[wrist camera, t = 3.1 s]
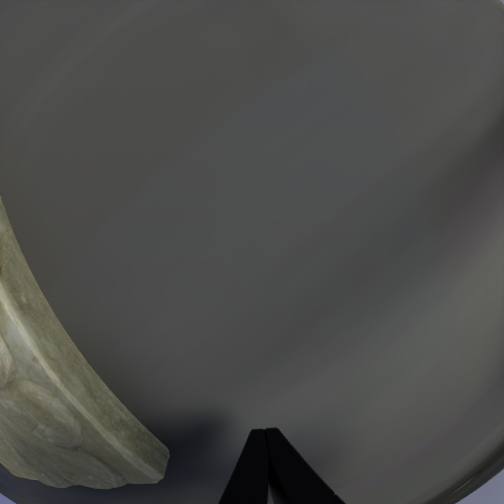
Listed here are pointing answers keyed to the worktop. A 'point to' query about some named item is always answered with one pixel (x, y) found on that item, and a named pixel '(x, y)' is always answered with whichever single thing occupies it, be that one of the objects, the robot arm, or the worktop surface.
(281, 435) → the robot arm
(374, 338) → the worktop surface
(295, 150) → the worktop surface
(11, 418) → the decorative tile
